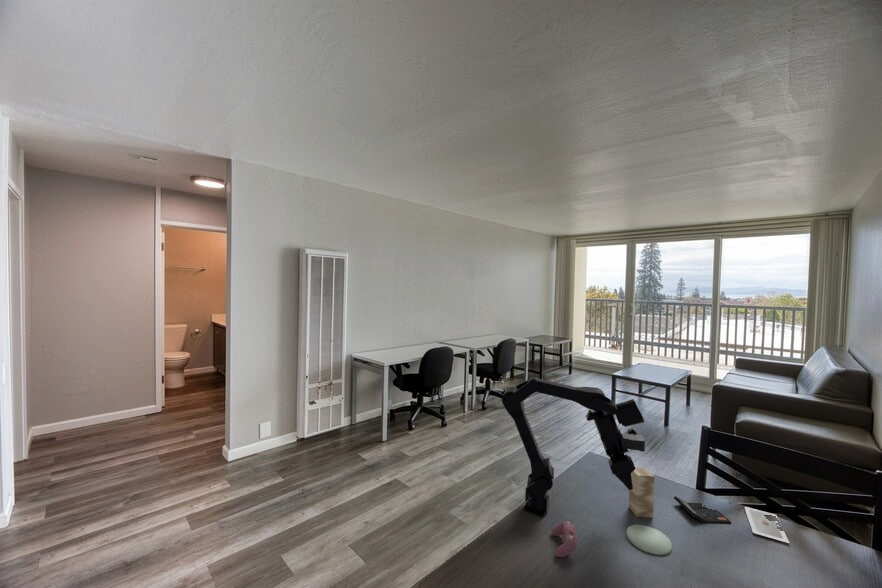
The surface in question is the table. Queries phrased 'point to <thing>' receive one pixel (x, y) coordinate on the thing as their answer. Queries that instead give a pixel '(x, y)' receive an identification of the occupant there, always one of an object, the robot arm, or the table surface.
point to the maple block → (642, 493)
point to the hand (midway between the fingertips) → (627, 481)
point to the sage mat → (649, 539)
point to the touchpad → (764, 525)
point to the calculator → (703, 512)
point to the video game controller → (565, 538)
